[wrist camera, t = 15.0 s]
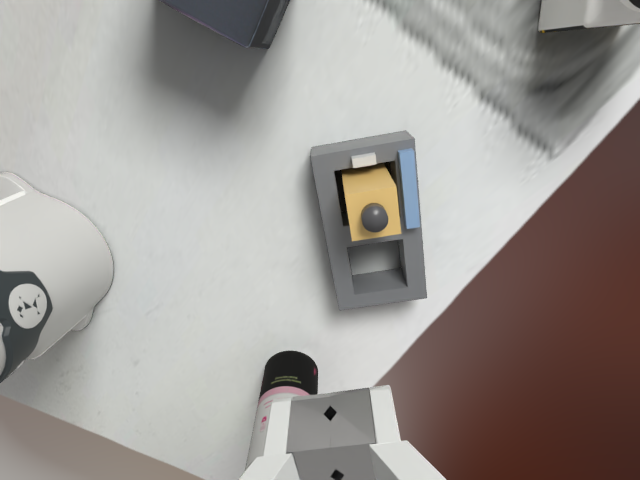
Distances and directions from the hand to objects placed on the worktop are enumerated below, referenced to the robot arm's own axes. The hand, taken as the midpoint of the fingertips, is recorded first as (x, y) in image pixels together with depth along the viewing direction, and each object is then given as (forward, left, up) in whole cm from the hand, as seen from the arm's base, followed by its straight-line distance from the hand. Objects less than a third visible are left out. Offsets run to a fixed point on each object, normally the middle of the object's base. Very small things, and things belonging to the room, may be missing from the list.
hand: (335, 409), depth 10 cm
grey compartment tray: (+3, -7, -31) cm, 32 cm away
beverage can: (-9, -26, -31) cm, 42 cm away
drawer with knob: (+3, -4, -31) cm, 32 cm away
